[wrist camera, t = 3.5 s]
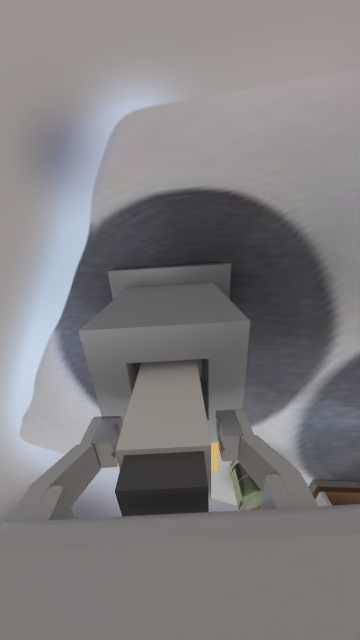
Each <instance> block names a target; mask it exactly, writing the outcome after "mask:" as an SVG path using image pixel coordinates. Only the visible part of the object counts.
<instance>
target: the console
mask: <svg viewBox="0 0 360 640" xmlns="http://www.w3.org/2000/svg"><path fill="white" fill-rule="evenodd" d="M107 272H108V277H109V282H110V288H111V293H112V298H113V301H112V302H111V303H110V304H108V305H107V306H106V307H105V308H104V309H103V310H102V311H100V312H99V313H98V314H97V315H96V316H95V317H94V318H92V319H91V320H90V321H89V322H88V323H87V324H85V325H84V326H83V327H82V328H81V329H80V330H79V335H80V339H81V342H82V346H83V350H84V353H85V357H86V360H87V364H88V368H89V371H90V375H91V379H92V382H93V386H94V389H95V393H96V397H97V400H98V404H99V407H100V411H101V415H102V417H103V416H122V420H123V421H122V425H123V423H124V419H125V416H126V413H127V409H128V406H129V403H130V399H131V396H132V393H133V389H134V386H135V383H136V379H137V376H138V373H139V369H140V366H141V363H142V362H159V361H177V360H195V359H196V360H197V366H198V371H199V377H200V383H201V389H202V395H203V400H204V406H205V412H206V418H207V424H208V429H209V435H210V441H211V472H218V450H219V441H218V440H217V435H216V410H231V409H233V410H234V409H243V401H244V389H245V378H246V367H247V355H248V344H249V332H250V320H249V319H248V318H247V317H246V316H245V315H244V314H243V313H242V312H241V311H240V310H239V309H238V308H237V307H236V306H235V305H234V304H233V302H232V301H231V300H230V281H231V264H230V263H210V264H193V265H175V266H158V267H141V268H124V269H112V270H109V271H107Z"/></svg>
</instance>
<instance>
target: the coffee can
mask: <svg viewBox="0 0 360 640" xmlns="http://www.w3.org/2000/svg"><path fill="white" fill-rule="evenodd" d="M230 475H231V478H232V482H233V487H234V491H235V496H236V500H237V504H238V508H239V510H257V509H260V506H261V501H262V496H263V492H262V490H261V489H260V488H259V487H258V485H257V484H256V483H255V482H254V480H253V479H252V478H251V477H250V475H249V474H248V473H247V472H246V471H245V469H244V468H243V467H242V466H241V464H240V463H239V462H238V461H234V462H233V464H232V465H231V467H230Z"/></svg>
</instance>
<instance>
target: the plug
mask: <svg viewBox="0 0 360 640" xmlns="http://www.w3.org/2000/svg"><path fill="white" fill-rule="evenodd" d="M115 452H116V456H117V459H118V463H119V467H120V473H119V477H118V481H117V485H116V489H115V493H116V497H117V500H118V503H119V507H120V510H121V513H122V516H140V515H159V514H178V513H198V512H208V501H211V441H210V435H209V429H208V424H207V418H206V412H205V406H204V400H203V395H202V389H201V383H200V377H199V371H198V366H197V360H196V359H195V360H177V361H159V362H142V363H141V366H140V369H139V373H138V376H137V379H136V383H135V386H134V389H133V393H132V396H131V399H130V403H129V406H128V409H127V413H126V416H125V419H124V423H123V426H122V429H121V433H120V436H119V439H118V443H117V446H116V449H115Z"/></svg>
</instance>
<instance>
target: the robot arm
mask: <svg viewBox="0 0 360 640" xmlns="http://www.w3.org/2000/svg"><path fill="white" fill-rule="evenodd" d="M122 421H123V420H122V416H103V417H94V418H93V419H92V420H91V422H90V424H89V426H88V429H87V431H86V433H85V435H84V437H83V439H82V441H81V443H80V445H76V446H75V447H74V448H73V449H72V450H70V451H69V452H68V453H67V454H66V455H65V456H63V457H62V458H61V459H60V460H59V461H58V462H57V463H55V464H54V465H53V466H52V467H51V468H50V469H49V470H47V471H46V472H45V473H44V474H43V475H42V476H41V477H39V479H37V480H36V481H35V482H34V483H33V484H31V485H30V486H29V488H28V489H27V491H26V493H25V494H24V496H23V497H22V499H21V501H20V502H19V504H18V506H17V507H16V509H15V510H14V512H13V514H12V515H11V517H10V519H9V520H8V522H5V523H0V640H360V504H352V505H333V506H318V504H317V502H316V501H315V499H314V497H313V495H312V493H311V491H310V490H309V488H308V486H307V484H306V482H305V480H304V478H303V477H302V475H301V473H300V472H299V471H298V470H297V469H296V468H294V467H293V466H292V465H291V464H290V463H289V462H287V461H286V460H285V459H284V458H283V457H282V456H281V455H279V454H278V453H277V452H276V451H275V450H274V449H272V448H271V447H270V446H269V445H268V444H267V443H265V442H264V441H263V440H262V439H261V438H260V437H258V436H257V435H254V434H253V431H252V429H251V426H250V424H249V422H248V419H247V417H246V414H245V412H244V410H243V409H234V410H233V409H231V410H216V435H217V440H218V441H219V449H220V454H221V458H222V461H238V462H239V463H240V464H241V466H242V467H243V468H244V469H245V471H246V472H247V473H248V474H249V475H250V477H251V478H252V479H253V480H254V482H255V483H256V484H257V485H258V487H259V488H260V489H261V490H262V492H263V496H262V501H261V506H260V509H257V510H237V511H218V512H198V513H178V514H159V515H140V516H121V517H103V518H82V519H77V518H76V516H75V513H74V511H73V509H72V507H71V506H72V505H73V504H74V502H75V501H76V500H77V499H78V497H79V496H80V495H81V494H82V492H83V491H84V490H85V489H86V487H87V486H88V485H89V483H90V482H91V481H92V480H93V478H94V477H95V476H96V475H97V473H98V472H99V471H100V470H101V468H107V467H117V465H118V459H117V456H116V452H115V449H116V446H117V443H118V439H119V436H120V433H121V429H122V426H123V425H122Z"/></svg>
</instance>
